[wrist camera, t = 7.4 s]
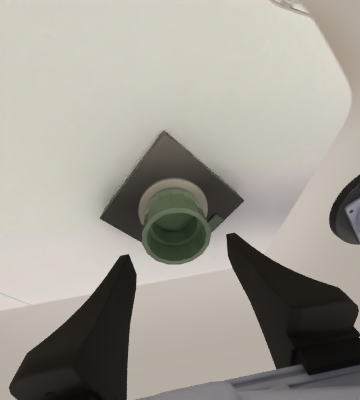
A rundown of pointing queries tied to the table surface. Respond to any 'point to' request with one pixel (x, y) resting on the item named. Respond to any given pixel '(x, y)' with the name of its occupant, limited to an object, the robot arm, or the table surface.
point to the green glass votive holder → (175, 227)
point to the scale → (169, 187)
